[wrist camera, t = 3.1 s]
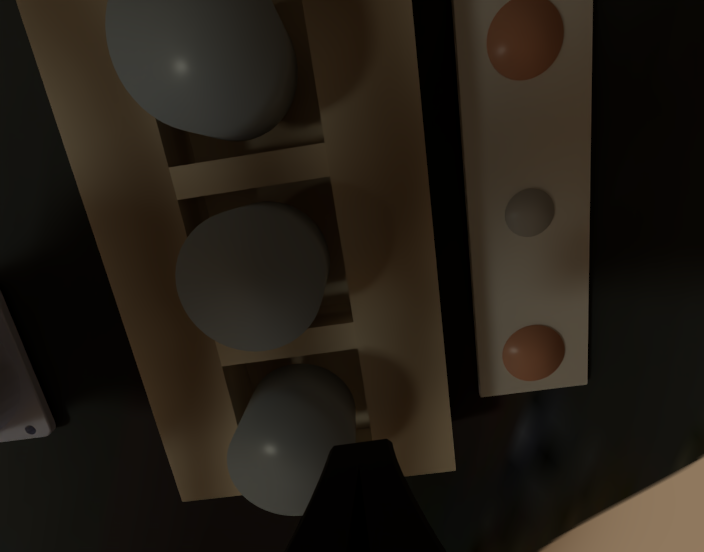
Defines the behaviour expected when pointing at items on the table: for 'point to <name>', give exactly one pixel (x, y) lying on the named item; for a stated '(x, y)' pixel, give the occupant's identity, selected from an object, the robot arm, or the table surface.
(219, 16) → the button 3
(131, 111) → the wooden tray
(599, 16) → the table surface
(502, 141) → the pattern card
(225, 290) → the button
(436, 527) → the table surface
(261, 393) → the button
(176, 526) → the table surface
